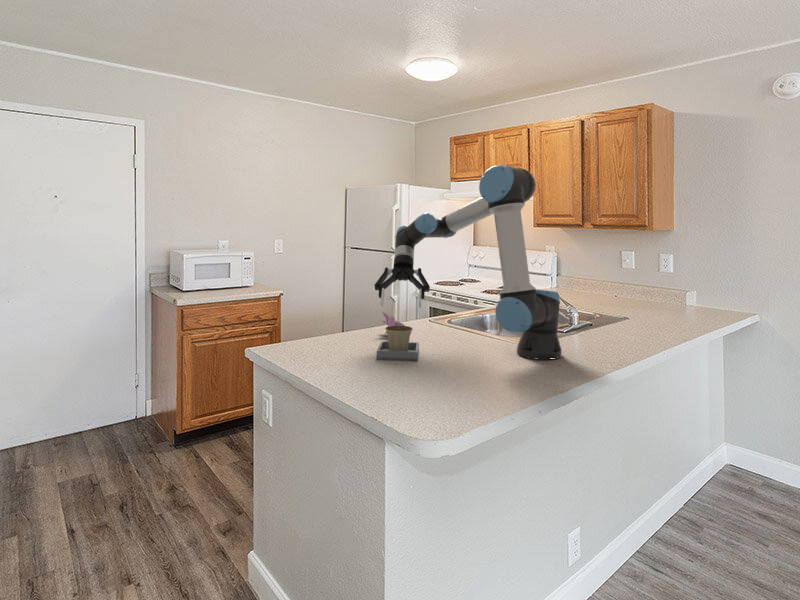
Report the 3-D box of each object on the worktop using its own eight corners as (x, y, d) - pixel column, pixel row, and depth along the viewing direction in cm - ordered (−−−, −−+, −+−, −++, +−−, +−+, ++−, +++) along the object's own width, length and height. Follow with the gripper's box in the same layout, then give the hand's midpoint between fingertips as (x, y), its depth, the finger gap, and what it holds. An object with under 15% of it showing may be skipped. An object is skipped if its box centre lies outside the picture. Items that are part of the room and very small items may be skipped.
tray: (418, 350, 180) (419, 342, 179) (417, 361, 166) (417, 352, 166) (381, 349, 180) (381, 341, 180) (376, 359, 167) (376, 350, 167)
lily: (405, 341, 197) (412, 319, 200) (378, 331, 194) (386, 308, 197) (395, 344, 208) (401, 322, 211) (369, 334, 205) (376, 312, 208)
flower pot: (409, 357, 168) (409, 331, 166) (382, 355, 170) (382, 330, 168) (414, 350, 177) (414, 326, 176) (388, 348, 179) (388, 324, 177)
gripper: (436, 266, 195) (435, 311, 183) (372, 265, 197) (367, 310, 184) (436, 254, 189) (435, 299, 176) (370, 252, 191) (365, 297, 178)
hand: (400, 305), depth 180 cm, fingers open, 13 cm apart
